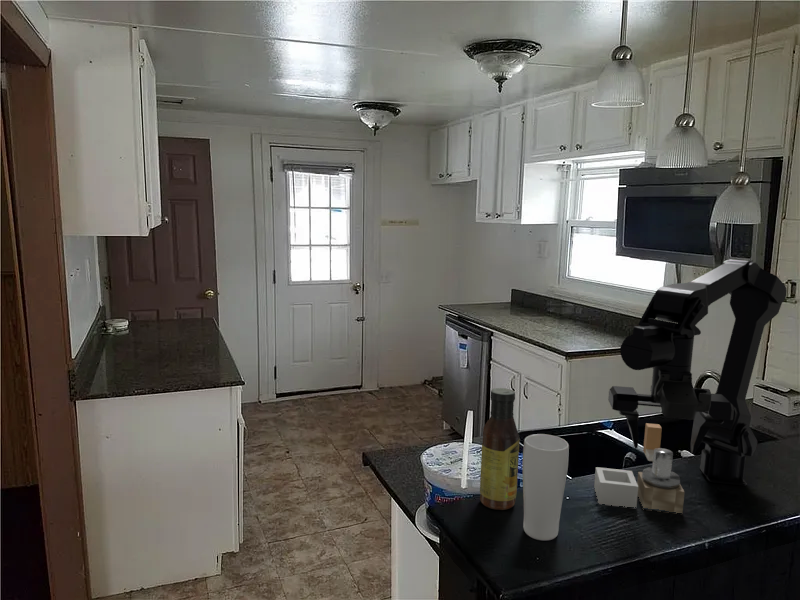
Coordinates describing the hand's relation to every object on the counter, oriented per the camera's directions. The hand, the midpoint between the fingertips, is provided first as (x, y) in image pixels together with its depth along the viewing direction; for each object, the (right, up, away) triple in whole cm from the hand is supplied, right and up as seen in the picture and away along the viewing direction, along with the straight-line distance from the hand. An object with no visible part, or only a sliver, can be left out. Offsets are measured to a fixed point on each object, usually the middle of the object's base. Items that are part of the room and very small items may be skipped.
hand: (663, 450), depth 100 cm
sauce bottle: (-29, -9, 0) cm, 30 cm away
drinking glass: (-23, -11, -9) cm, 27 cm away
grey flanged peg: (0, -10, +1) cm, 10 cm away
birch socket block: (0, -10, +1) cm, 10 cm away
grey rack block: (-7, -9, +3) cm, 12 cm away
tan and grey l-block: (+1, -3, +7) cm, 8 cm away
